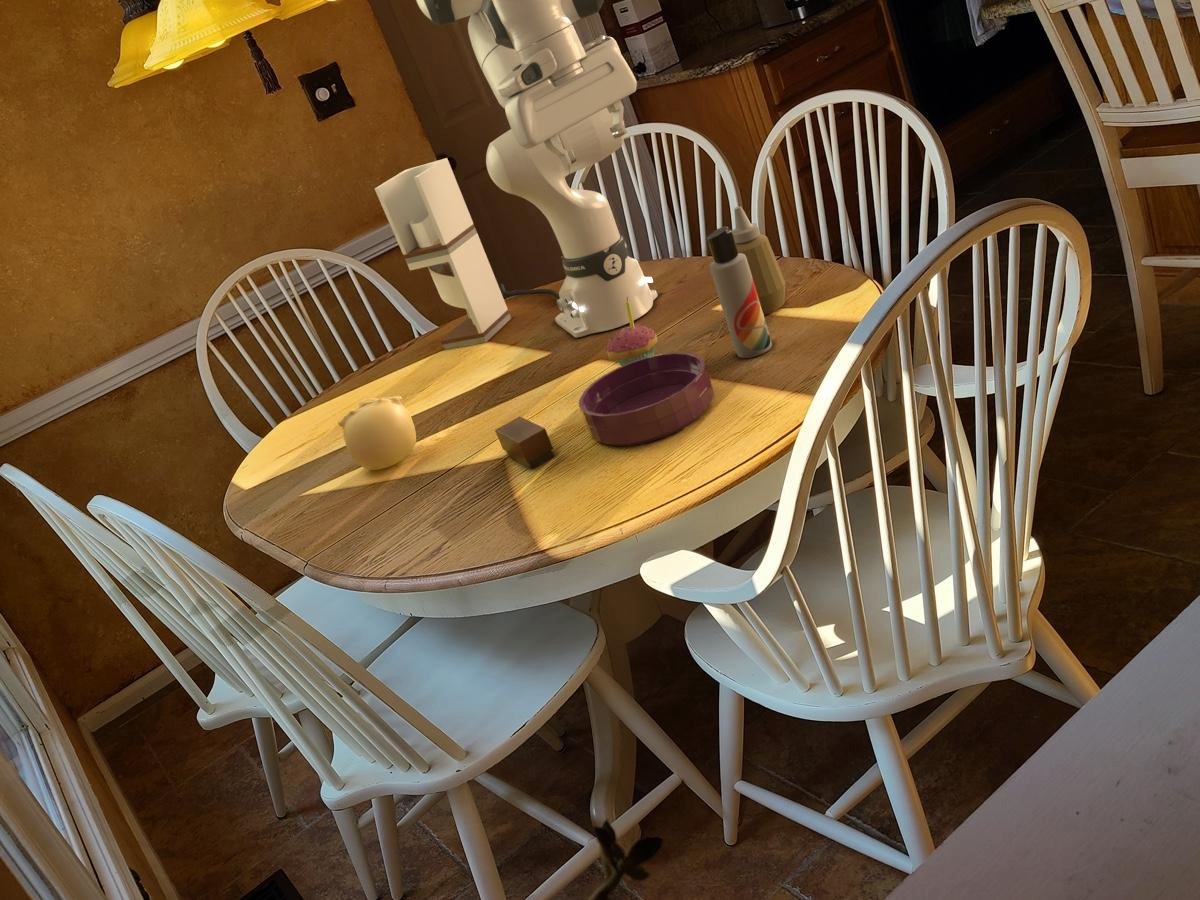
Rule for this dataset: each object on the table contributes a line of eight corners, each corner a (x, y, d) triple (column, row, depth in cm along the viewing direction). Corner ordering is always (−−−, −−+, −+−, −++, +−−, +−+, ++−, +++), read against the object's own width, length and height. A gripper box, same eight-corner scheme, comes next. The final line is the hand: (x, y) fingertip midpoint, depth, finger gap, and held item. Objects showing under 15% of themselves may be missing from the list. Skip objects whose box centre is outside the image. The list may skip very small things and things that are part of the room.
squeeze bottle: (792, 293, 189) (764, 193, 182) (789, 311, 182) (760, 208, 175) (746, 305, 192) (716, 206, 184) (742, 323, 185) (710, 221, 177)
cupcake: (646, 353, 187) (623, 288, 183) (675, 359, 180) (652, 292, 176) (606, 377, 184) (582, 311, 179) (634, 384, 177) (610, 316, 172)
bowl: (569, 432, 169) (557, 400, 167) (670, 375, 175) (659, 344, 173) (632, 461, 153) (619, 426, 150) (741, 397, 159) (730, 363, 157)
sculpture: (421, 433, 190) (396, 378, 186) (426, 458, 179) (399, 400, 175) (358, 459, 190) (331, 404, 185) (359, 486, 179) (331, 428, 174)
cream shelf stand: (470, 326, 238) (405, 169, 224) (511, 318, 233) (447, 157, 219) (444, 349, 229) (374, 188, 215) (486, 342, 224) (417, 176, 210)
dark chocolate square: (505, 456, 169) (494, 429, 167) (530, 442, 171) (519, 416, 169) (530, 470, 161) (519, 442, 160) (556, 455, 163) (545, 428, 161)
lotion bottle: (774, 351, 170) (738, 228, 162) (738, 362, 170) (700, 241, 162) (770, 338, 175) (734, 219, 167) (735, 349, 176) (698, 231, 168)
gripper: (599, 35, 163) (639, 123, 168) (487, 92, 156) (532, 183, 161) (620, 24, 158) (661, 116, 162) (505, 83, 151) (550, 178, 155)
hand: (596, 150), depth 161 cm, fingers open, 8 cm apart
